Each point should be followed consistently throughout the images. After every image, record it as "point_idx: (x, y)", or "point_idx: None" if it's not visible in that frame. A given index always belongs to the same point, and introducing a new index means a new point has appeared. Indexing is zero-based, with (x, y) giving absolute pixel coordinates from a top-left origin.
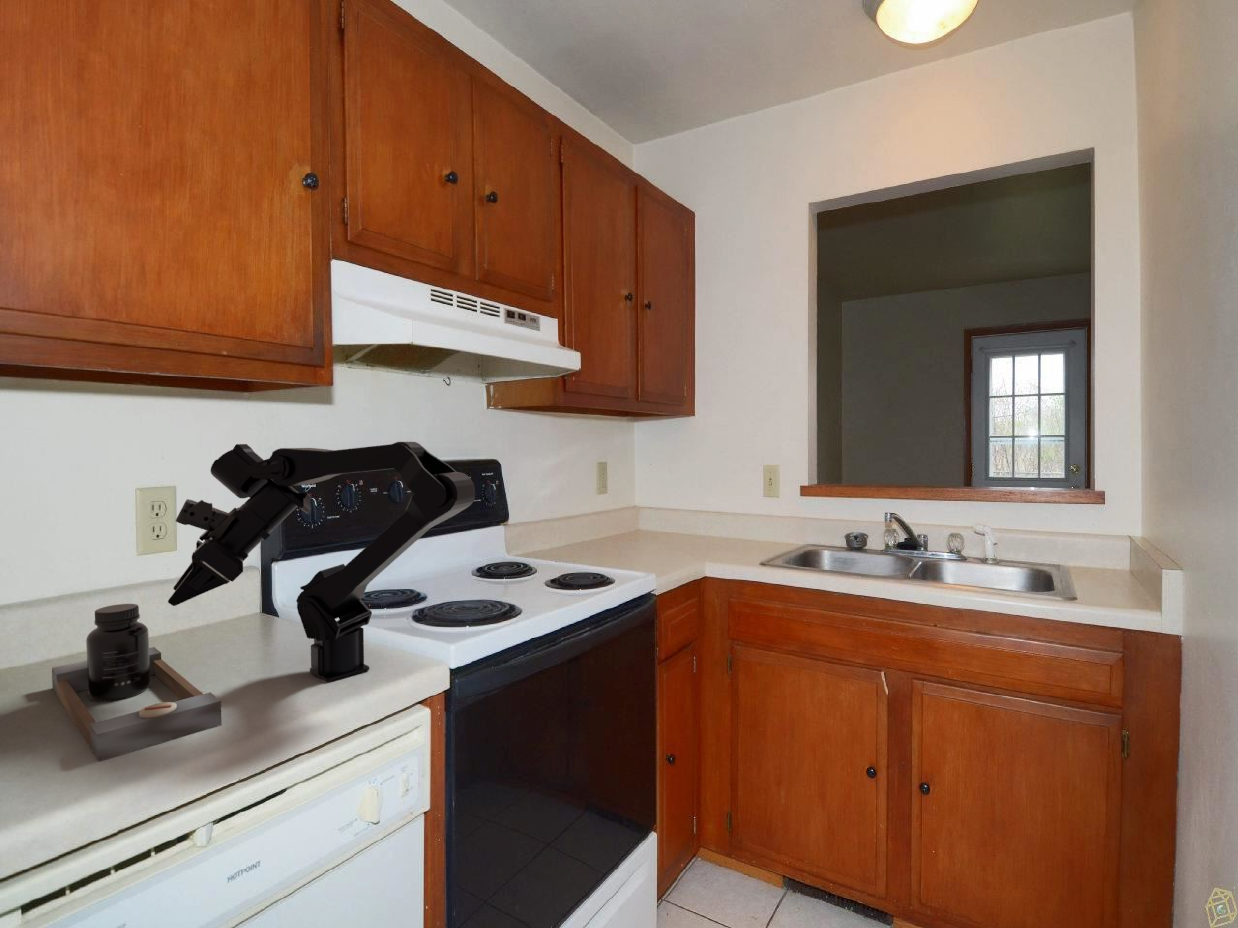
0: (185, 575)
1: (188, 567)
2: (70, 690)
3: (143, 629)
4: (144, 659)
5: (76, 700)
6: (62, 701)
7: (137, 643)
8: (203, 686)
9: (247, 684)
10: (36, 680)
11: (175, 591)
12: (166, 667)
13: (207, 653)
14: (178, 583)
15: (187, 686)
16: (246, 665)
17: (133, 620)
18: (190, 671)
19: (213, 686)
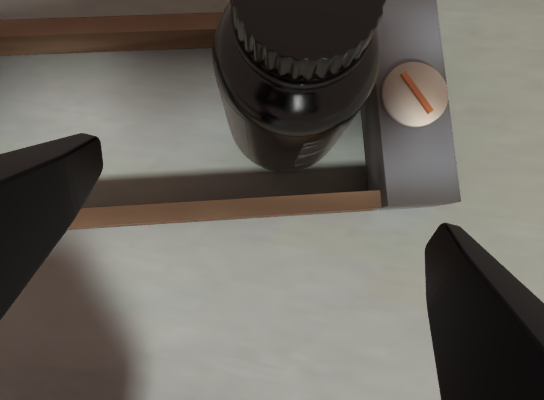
0: (480, 295)
1: (529, 332)
2: None
3: (253, 110)
4: (244, 139)
5: (189, 24)
6: None
7: (225, 102)
8: (190, 263)
9: (124, 345)
10: (496, 7)
11: (16, 150)
12: (296, 204)
13: None
14: (453, 248)
15: (100, 214)
16: (277, 382)
17: (246, 62)
18: (328, 263)
19: (172, 280)
